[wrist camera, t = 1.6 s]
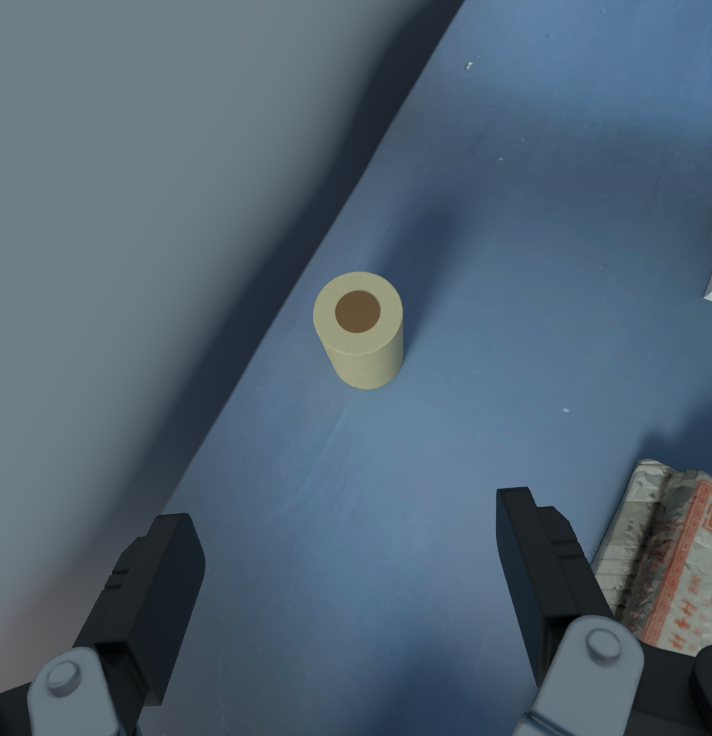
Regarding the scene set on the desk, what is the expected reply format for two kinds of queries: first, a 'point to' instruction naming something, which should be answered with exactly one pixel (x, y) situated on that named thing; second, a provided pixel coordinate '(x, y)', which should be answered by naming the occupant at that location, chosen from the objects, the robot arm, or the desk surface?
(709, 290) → the mounting plate
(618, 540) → the packaged product
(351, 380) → the toilet paper roll
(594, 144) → the desk surface
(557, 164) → the desk surface
